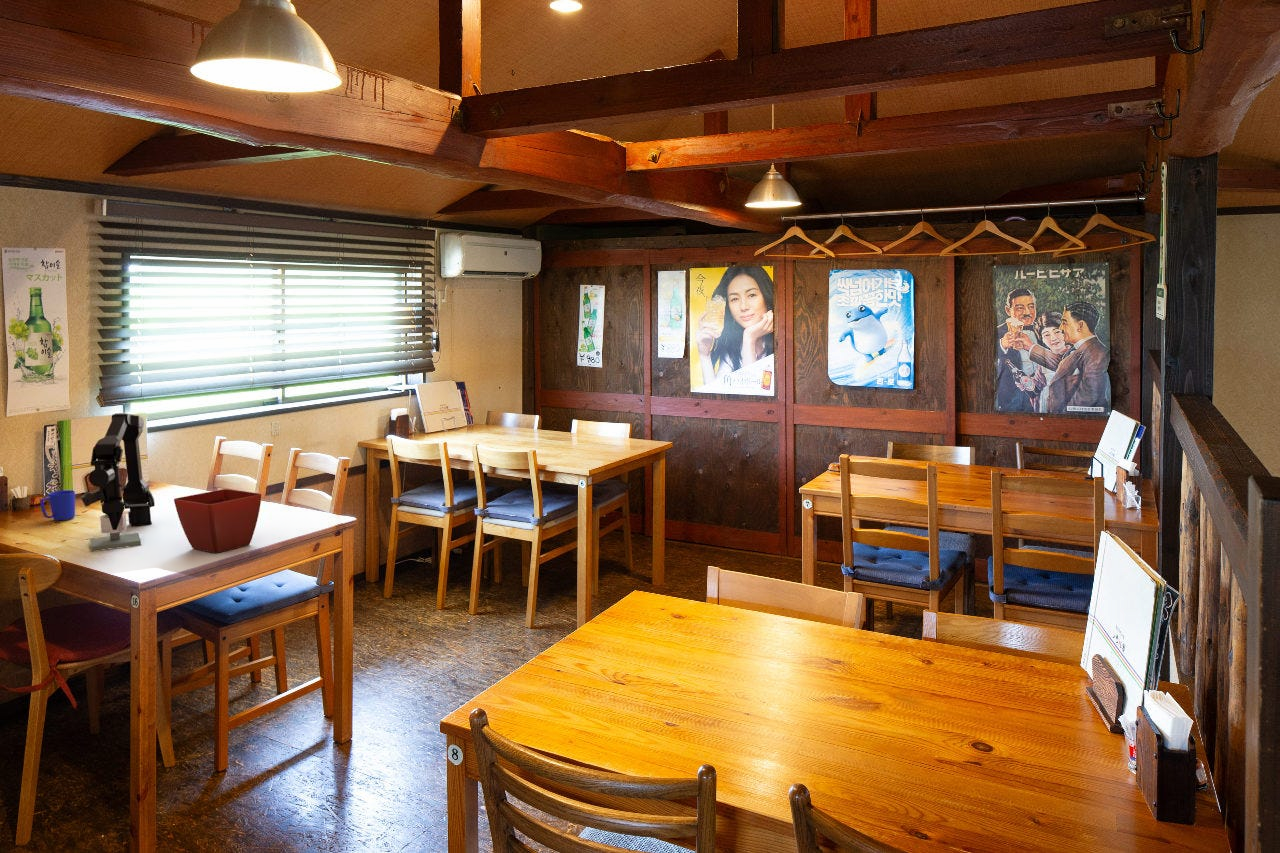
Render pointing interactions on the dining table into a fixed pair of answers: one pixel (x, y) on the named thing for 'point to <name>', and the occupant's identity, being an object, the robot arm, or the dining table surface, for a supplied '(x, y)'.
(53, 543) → the dining table surface
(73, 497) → the mug
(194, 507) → the plant pot
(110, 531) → the tan faceted hollow ring
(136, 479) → the robot arm
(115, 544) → the post stand
